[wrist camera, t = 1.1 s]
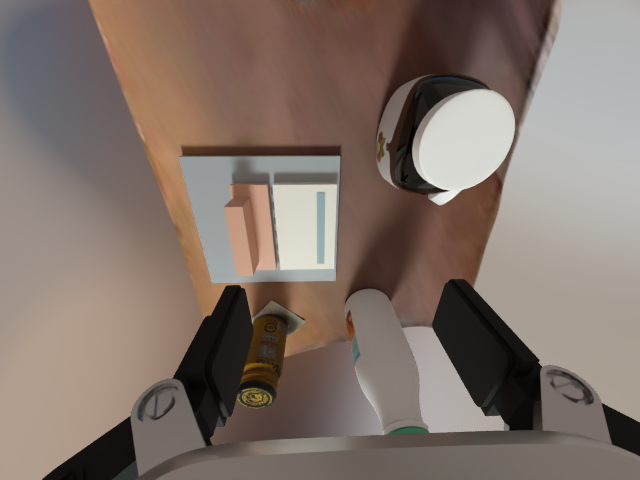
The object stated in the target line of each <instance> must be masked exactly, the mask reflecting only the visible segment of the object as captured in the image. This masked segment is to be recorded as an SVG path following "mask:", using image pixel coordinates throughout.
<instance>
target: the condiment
mask: <svg viewBox="0 0 640 480" xmlns="http://www.w3.org/2000/svg"><path fill="white" fill-rule="evenodd" d="M274 312H276V313H274ZM272 313H273V314H272ZM304 322H305V321H304V320H302V319H301V318H299V317H298V316H296V315H295V314H294V313H292V312H290V311H289V310H287V309H286V308H284V307H282V306H281V305H279V304H277V303H275V302H274V301H272V300H271V301H270V302H269V303H268V304H267V305H266V306H265V307H264V308H263V309H262V310H261V311H260V312H259V313H258V314H257V315H255V316H254V317H253V318H252V324H253V329H254V333H253V338H252V342H251V346H250V349H249V353H248V357H247V361H246V364H245V368H244V372H243V376H242V379H241V383H240V387H239V391H238V394H237V398H236V399H237V400H238V402H239V403H240V404H241V405H243V406H245V407H248V408H254V409H256V408H264V407H267V406H269V405H271V404H272V403H273V402H274V400H275V399H276V390H277V388H278V383H279V381H280V379H281V376H282V368H283V359H284V352H285V343H286V337H287V336H288V335H290V334H291V333H292V332H294V331H295V330H296V329H297V328H298V327H299V326H301V325H302V324H303V323H304ZM288 326H289V327H288Z"/></svg>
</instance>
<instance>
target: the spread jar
mask: <svg viewBox="0 0 640 480" xmlns="http://www.w3.org/2000/svg"><path fill="white" fill-rule="evenodd" d="M514 131H515V118H514V114H513V110H512V108H511V106H510V104H509V102H508V101H507V100H506V99H505V98H504V97H503V96H502V95H500V94H499V93H497V92H495V91H492V90H490V89H489V87H488V86H487V85H486V84H485V83H483V82H482V81H480V80H478V79H475V78H473V77H469V76H466V75H461V74H454V73H440V74H431V75H426V76H422V77H419V78H416V79H414V80H411V81H409V82H407V83H405V84H404V85H402V86H401V87H399V88H398V89H397V90H396V91H395V93H394V94H393V95H392V97H391V98H390V100H389V102H388V104H387V106H386V108H385V110H384V113H383V115H382V118H381V120H380V124H379V127H378V131H377V137H376V160H377V166H378V169H379V172H380V174H381V175H382V177H383V178H384V179H385V180H387V181H388V182H389V183H390V184H392V185H393V186H395V187H396V188H398V189H401V190H404V191H407V192H411V193H417V194H423V195H426V194H428V198H429V199H430V200H432V201H433V202H435V203H436V204H438V205H442V204H445V203H446V202H448V201H449V200H451V199H452V198H453V197H455V196H456V195H457V194H458V193H459V192H460V191H461V190H462V189H467V188H469V187H472V186H474V185H476V184H478V183H480V182H482V181H483V180H485V179H486V178H487V177H488V176H490V175H491V174H492V173H493V172H494V171H495V170H496V169H497V168H498V167H499V166H500V164H501V163H502V161H503V160H504V159H505V157H506V155H507V153H508V151H509V149H510V147H511V144H512V141H513V137H514Z"/></svg>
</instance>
